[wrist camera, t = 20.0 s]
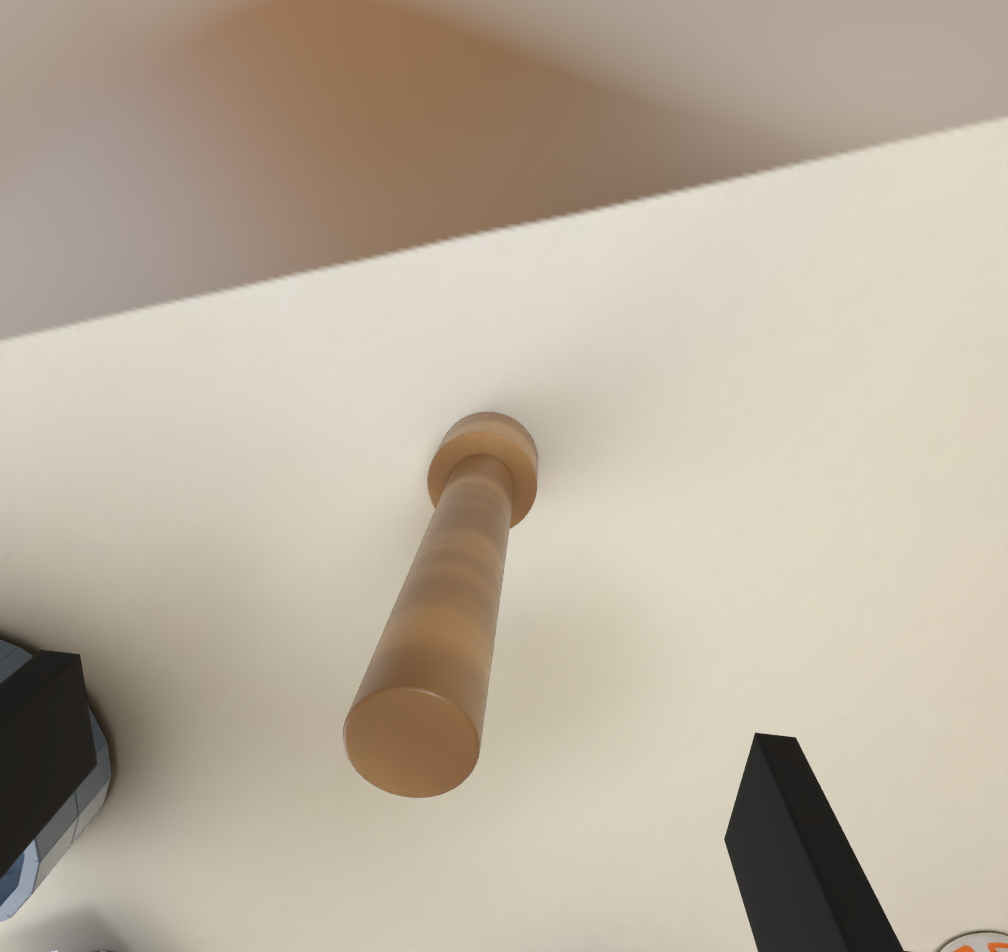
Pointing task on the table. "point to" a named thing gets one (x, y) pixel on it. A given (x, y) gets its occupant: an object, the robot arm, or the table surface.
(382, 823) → the table surface
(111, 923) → the table surface
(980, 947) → the pill bottle
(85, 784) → the bowl
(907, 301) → the table surface
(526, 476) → the muddler
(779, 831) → the robot arm
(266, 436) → the table surface
